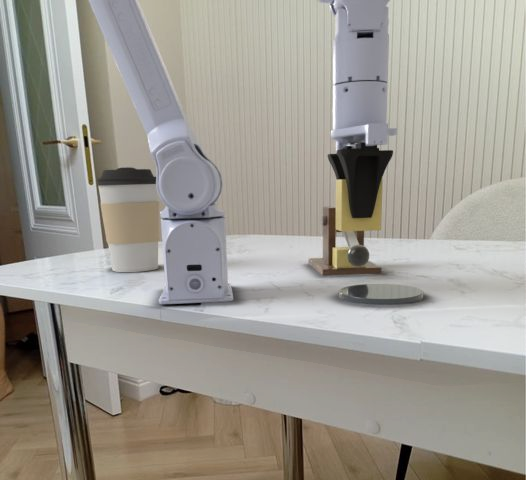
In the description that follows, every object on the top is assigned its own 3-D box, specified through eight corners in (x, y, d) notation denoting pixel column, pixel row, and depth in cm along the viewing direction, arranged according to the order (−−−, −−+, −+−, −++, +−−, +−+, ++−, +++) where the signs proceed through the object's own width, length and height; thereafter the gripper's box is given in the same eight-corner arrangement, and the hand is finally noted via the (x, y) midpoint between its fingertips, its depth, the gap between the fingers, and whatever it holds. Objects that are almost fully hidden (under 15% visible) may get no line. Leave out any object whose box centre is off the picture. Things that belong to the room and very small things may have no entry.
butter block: (365, 267, 80) (366, 248, 79) (336, 268, 79) (336, 249, 79) (360, 264, 82) (360, 246, 82) (332, 265, 82) (332, 247, 81)
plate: (435, 304, 60) (436, 296, 60) (349, 308, 60) (349, 300, 59) (407, 289, 69) (407, 282, 69) (331, 292, 68) (331, 285, 68)
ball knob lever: (370, 270, 75) (373, 251, 73) (348, 271, 75) (350, 252, 73) (349, 223, 85) (352, 205, 83) (330, 224, 85) (332, 206, 83)
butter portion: (381, 230, 65) (382, 178, 64) (341, 231, 65) (341, 179, 63) (373, 228, 68) (375, 178, 67) (335, 229, 68) (335, 179, 66)
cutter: (381, 274, 80) (383, 207, 77) (322, 277, 79) (322, 209, 76) (359, 262, 91) (360, 204, 89) (308, 264, 90) (308, 205, 88)
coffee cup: (167, 271, 88) (160, 165, 83) (104, 274, 86) (94, 166, 81) (162, 263, 96) (155, 167, 92) (105, 266, 94) (95, 168, 90)
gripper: (421, 72, 56) (414, 219, 59) (377, 94, 70) (374, 212, 73) (347, 73, 55) (345, 222, 59) (318, 95, 69) (318, 214, 73)
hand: (357, 217), depth 66 cm, fingers closed on butter portion, 3 cm apart
